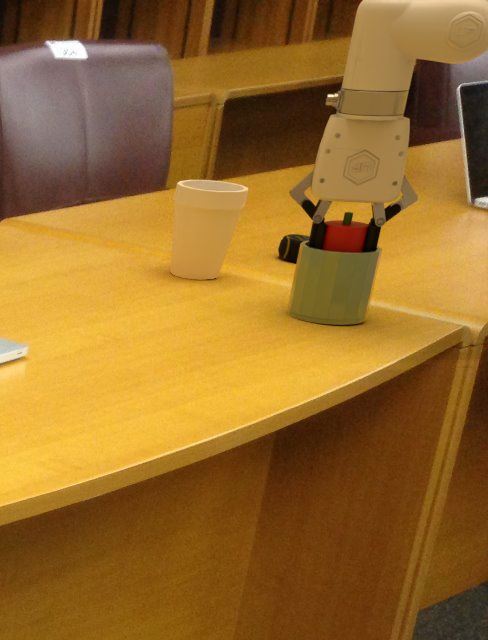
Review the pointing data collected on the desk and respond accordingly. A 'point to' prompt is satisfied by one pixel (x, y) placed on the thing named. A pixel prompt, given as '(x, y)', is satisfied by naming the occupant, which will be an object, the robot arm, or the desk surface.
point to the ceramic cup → (332, 285)
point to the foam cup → (204, 226)
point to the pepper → (345, 235)
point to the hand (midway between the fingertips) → (340, 253)
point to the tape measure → (291, 246)
